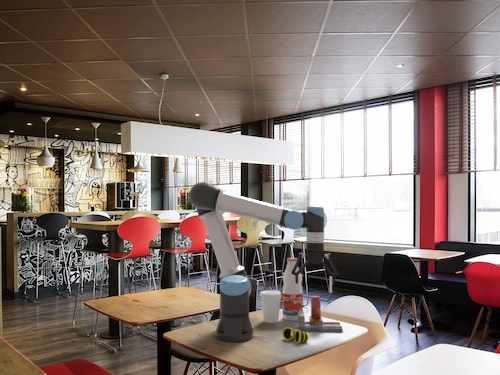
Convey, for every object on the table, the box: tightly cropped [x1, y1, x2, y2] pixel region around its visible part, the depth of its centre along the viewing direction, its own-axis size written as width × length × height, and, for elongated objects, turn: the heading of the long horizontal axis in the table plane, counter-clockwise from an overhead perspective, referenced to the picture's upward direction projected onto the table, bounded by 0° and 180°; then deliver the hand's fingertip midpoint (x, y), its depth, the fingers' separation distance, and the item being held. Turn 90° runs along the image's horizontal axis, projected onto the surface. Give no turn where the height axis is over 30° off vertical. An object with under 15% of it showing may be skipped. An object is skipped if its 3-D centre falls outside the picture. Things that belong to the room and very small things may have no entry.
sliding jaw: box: [308, 295, 324, 325], centre depth 183 cm, size 5×8×11 cm, turn 176°
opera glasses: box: [281, 326, 309, 345], centre depth 165 cm, size 10×5×5 cm, turn 40°
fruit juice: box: [281, 257, 304, 322], centre depth 200 cm, size 9×9×28 cm
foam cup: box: [260, 290, 282, 324], centre depth 195 cm, size 10×9×13 cm
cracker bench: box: [297, 311, 343, 333], centre depth 182 cm, size 18×10×6 cm, turn 86°
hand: (314, 291), depth 183 cm, fingers open, 13 cm apart
